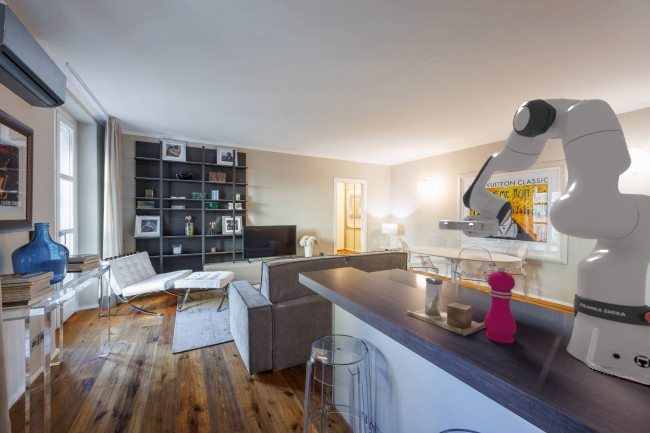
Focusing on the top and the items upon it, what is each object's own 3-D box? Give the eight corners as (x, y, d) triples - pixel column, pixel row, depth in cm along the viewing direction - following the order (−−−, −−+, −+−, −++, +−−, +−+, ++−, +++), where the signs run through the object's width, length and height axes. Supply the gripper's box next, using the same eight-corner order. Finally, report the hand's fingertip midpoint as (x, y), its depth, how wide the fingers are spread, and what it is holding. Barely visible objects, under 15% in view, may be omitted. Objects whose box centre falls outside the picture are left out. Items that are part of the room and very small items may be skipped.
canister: (444, 314, 89) (446, 280, 89) (435, 317, 86) (437, 281, 86) (429, 309, 93) (431, 277, 93) (420, 312, 90) (422, 278, 90)
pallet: (488, 330, 80) (488, 322, 80) (464, 340, 73) (464, 331, 73) (430, 311, 96) (430, 304, 96) (406, 317, 88) (406, 310, 88)
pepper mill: (485, 334, 77) (487, 262, 77) (516, 341, 73) (518, 265, 73) (482, 343, 71) (484, 265, 72) (516, 351, 67) (518, 269, 67)
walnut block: (471, 327, 79) (472, 306, 79) (465, 332, 75) (466, 310, 75) (453, 322, 82) (454, 302, 82) (446, 326, 79) (447, 305, 79)
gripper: (448, 217, 117) (431, 216, 108) (503, 218, 101) (488, 217, 93) (447, 232, 117) (430, 232, 108) (502, 235, 101) (487, 236, 93)
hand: (457, 225), depth 100 cm, fingers open, 8 cm apart
